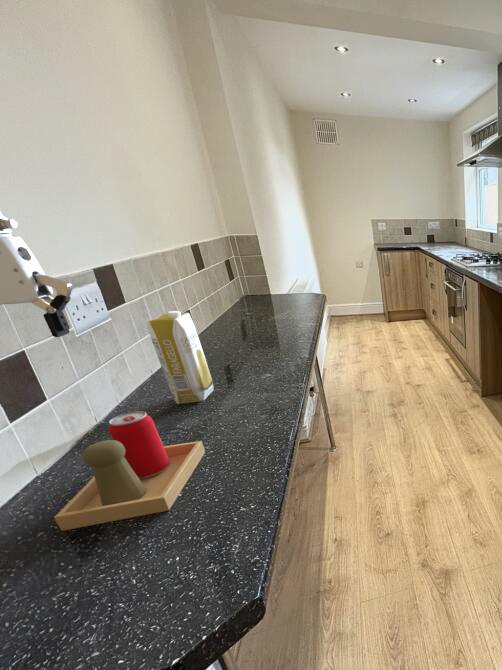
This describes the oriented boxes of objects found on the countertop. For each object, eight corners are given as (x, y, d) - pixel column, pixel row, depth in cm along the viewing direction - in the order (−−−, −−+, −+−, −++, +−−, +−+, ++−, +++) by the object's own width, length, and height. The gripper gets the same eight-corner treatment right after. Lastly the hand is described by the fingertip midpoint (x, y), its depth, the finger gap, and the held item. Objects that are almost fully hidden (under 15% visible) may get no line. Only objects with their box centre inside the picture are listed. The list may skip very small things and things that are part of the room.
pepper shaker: (92, 505, 71) (65, 451, 66) (130, 484, 76) (106, 433, 72) (119, 511, 69) (92, 456, 65) (155, 489, 75) (133, 437, 70)
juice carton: (206, 402, 110) (176, 314, 100) (171, 406, 108) (138, 317, 98) (218, 389, 118) (192, 306, 109) (186, 392, 116) (157, 308, 106)
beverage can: (163, 459, 84) (141, 406, 79) (177, 468, 81) (155, 414, 76) (124, 474, 79) (99, 420, 74) (138, 485, 76) (112, 428, 71)
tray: (61, 531, 66) (53, 517, 65) (121, 465, 83) (116, 453, 82) (169, 510, 71) (163, 497, 69) (205, 451, 88) (201, 440, 86)
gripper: (59, 225, 67) (102, 327, 74) (-87, 228, 62) (-27, 337, 68) (28, 227, 60) (77, 339, 67) (-139, 230, 55) (-67, 350, 62)
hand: (24, 338), depth 68 cm, fingers open, 9 cm apart
